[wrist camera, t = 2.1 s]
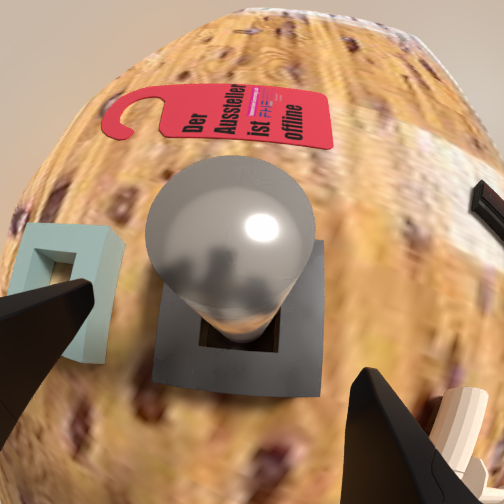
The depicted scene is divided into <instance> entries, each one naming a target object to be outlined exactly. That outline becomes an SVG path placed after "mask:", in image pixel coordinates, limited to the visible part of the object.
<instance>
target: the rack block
mask: <svg viewBox="0 0 504 504" xmlns="http://www.w3.org/2000/svg"><path fill="white" fill-rule="evenodd" d="M125 245H126V244H125V243H124V241H123V240H122V239H121V238H120V237H119V236H118V235H117V234H116V233H115V232H114V231H113V230H112V229H111V228H110V226H102V225H79V224H53V223H27V225H26V228H25V231H24V234H23V237H22V240H21V243H20V246H19V250H18V253H17V257H16V260H15V264H14V268H13V271H12V276H11V280H10V284H9V289H8V294H7V296H8V295H12V294H16V293H20V292H24V291H29V290H33V289H37V288H41V287H45V286H49V284H50V279H51V275H52V271H53V267H54V263H55V262H60V263H67V264H74V265H73V270H72V274H71V278H70V281H71V280H75V279H79V278H84V279H86V280H89V281H91V282H92V284H93V290H94V298H95V305H94V308H93V309H92V311H91V312H90V314H89V315H88V317H87V319H86V320H85V322H84V323H83V325H82V326H81V328H80V330H79V331H78V333H77V334H76V336H75V338H74V339H73V340H72V342H71V343H70V345H69V346H68V347H67V349H66V350H65V351H64V353H63V354H62V355H61V356H63V357H66V358H69V359H72V360H75V361H78V362H80V363H93V364H105V359H106V350H107V341H108V333H109V326H110V319H111V313H112V307H113V301H114V296H115V290H116V285H117V280H118V275H119V271H120V266H121V262H122V257H123V253H124V249H125Z"/></svg>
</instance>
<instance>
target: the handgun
mask: <svg viewBox="0 0 504 504" xmlns="http://www.w3.org/2000/svg"><path fill="white" fill-rule="evenodd" d="M473 210H474V211H475V212H476V213H477V214H478V215H479V216H480V217H481V218H482V219H483V220H484V221H485V222H486V223H487V224H488V225H489V226H490V227H491V228H492V229H493V230H494V231H495V232H496V233H497V234H498V235H499V236H500V238H501V239H502V240H503V241H504V201H503V200H502V199H501V197H500V196H499V195H498V194H497V193H496V192H495V191H494V190H493V189H492V188H490V187H489V186H488V185H487V184H486V183H485V182H484V181H483V180H481V181H480V182H479V183H478V184H477V185H476V186H475V190H474V197H473V203H472V210H471V211H473Z"/></svg>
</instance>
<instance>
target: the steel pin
mask: <svg viewBox="0 0 504 504" xmlns="http://www.w3.org/2000/svg"><path fill="white" fill-rule="evenodd" d="M315 229H316V227H315V217H314V213H313V210H312V207H311V204H310V202H309V199H308V197H307V196H306V194H305V192H304V191H303V189H302V188H301V187H300V186H299V184H298V183H297V182H296V181H295V180H294V179H293V178H292V177H291V176H290V175H288V174H287V173H286V172H285V171H283V170H282V169H280V168H278V167H277V166H275V165H273V164H271V163H268V162H266V161H263V160H260V159H257V158H252V157H247V156H219V157H214V158H209V159H206V160H203V161H199V162H197V163H195V164H193V165H190V166H189V167H187V168H185V169H183V170H182V171H180V172H179V173H178V174H176V175H175V176H174V177H173V178H171V179H170V180H169V181H168V182H167V183H166V184H165V185H164V187H163V188H162V189H161V190H160V192H159V193H158V195H157V196H156V198H155V199H154V201H153V203H152V205H151V208H150V211H149V213H148V217H147V222H146V229H145V240H146V248H147V252H148V256H149V258H150V261H151V263H152V265H153V267H154V269H155V271H156V272H157V274H158V275H159V276H160V278H161V279H162V280H163V281H164V283H165V284H166V285H168V286H169V287H170V288H171V289H172V290H173V291H174V292H175V293H176V294H177V295H178V296H179V297H180V298H182V299H183V300H184V301H185V302H186V303H187V304H188V305H189V306H190V307H191V308H193V309H194V310H195V311H196V312H197V313H198V314H199V315H200V316H202V317H203V318H204V319H205V320H206V321H207V322H208V323H210V324H211V325H212V326H213V327H214V328H215V329H217V330H218V331H219V332H220V333H221V334H223V335H224V336H225V337H226V338H227V339H229V340H231V341H233V342H236V343H249V342H252V341H254V340H256V339H257V338H259V337H260V336H261V335H262V334H263V332H264V331H265V329H266V328H267V326H268V325H269V323H270V322H271V320H272V319H273V317H274V315H275V314H276V312H277V311H278V309H279V308H280V306H281V305H282V303H283V301H284V300H285V298H286V297H287V295H288V293H289V292H290V290H291V289H292V287H293V285H294V284H295V282H296V281H297V279H298V277H299V276H300V274H301V272H302V271H303V269H304V267H305V266H306V264H307V262H308V260H309V258H310V255H311V252H312V250H313V246H314V241H315Z"/></svg>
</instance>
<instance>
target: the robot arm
mask: <svg viewBox="0 0 504 504" xmlns="http://www.w3.org/2000/svg"><path fill="white" fill-rule="evenodd" d="M94 305H95V298H94V290H93V284H92V282H91V281H89V280H86V279H84V278H79V279H75V280H71V281H66V282H62V283H58V284H54V285H49V286H45V287H41V288H37V289H33V290H29V291H24V292H20V293H16V294H12V295H8V296H4V297H0V452H1V450H2V448H3V446H4V444H5V442H6V440H7V439H8V437H9V435H10V433H11V431H12V430H13V428H14V426H15V425H16V423H17V421H18V419H19V418H20V416H21V414H22V413H23V411H24V409H25V408H26V406H27V405H28V403H29V402H30V400H31V398H32V397H33V395H34V394H35V392H36V391H37V389H38V388H39V386H40V385H41V383H42V382H43V381H44V379H45V378H46V376H47V375H48V373H49V372H50V370H51V369H52V368H53V366H54V365H55V364H56V362H57V361H58V359H59V358H60V357H61V355H62V354H63V353H64V351H65V350H66V349H67V347H68V346H69V345H70V343H71V342H72V340H73V339H74V338H75V336H76V334H77V333H78V331H79V330H80V328H81V326H82V325H83V323H84V322H85V320H86V319H87V317H88V315H89V314H90V312H91V311H92V309H93V308H94ZM340 504H484V503H482V502H481V501H479V500H478V499H477V498H476V496H475V495H474V494H473V493H472V492H471V491H470V490H469V488H468V487H467V486H466V485H465V484H464V483H463V481H462V480H461V479H460V478H459V477H458V476H457V474H456V473H455V472H454V471H453V470H452V468H451V467H450V466H449V464H448V463H447V462H446V460H445V459H444V458H443V456H442V455H441V454H440V452H439V451H438V449H435V445H434V444H433V443H432V441H431V440H430V439H429V437H428V436H427V434H426V433H425V432H424V430H423V429H422V428H421V426H420V425H419V424H418V422H417V421H416V419H415V418H414V417H413V415H412V414H411V413H410V411H409V410H408V409H407V407H406V406H405V405H404V403H403V402H402V401H401V399H400V398H399V397H398V396H397V394H396V393H395V392H394V390H393V389H392V388H391V386H390V385H389V384H388V382H387V381H386V380H385V379H384V377H383V376H382V375H381V373H380V372H379V371H378V370H377V369H375V368H370V367H365V368H363V369H362V370H361V372H360V373H359V375H358V376H357V378H356V379H355V381H354V382H353V383H352V386H351V389H350V397H349V406H348V414H347V421H346V429H345V446H344V465H343V478H342V490H341V499H340Z"/></svg>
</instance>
